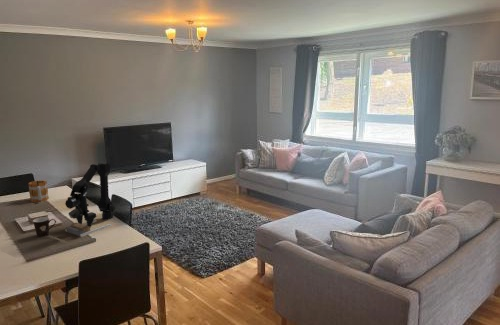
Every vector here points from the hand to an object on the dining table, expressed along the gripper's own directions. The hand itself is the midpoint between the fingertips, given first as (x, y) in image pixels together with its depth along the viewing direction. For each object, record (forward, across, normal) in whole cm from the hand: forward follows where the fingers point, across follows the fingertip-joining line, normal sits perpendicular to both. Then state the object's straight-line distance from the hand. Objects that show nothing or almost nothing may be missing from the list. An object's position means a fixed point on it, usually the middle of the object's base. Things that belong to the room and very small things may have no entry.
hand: (85, 226), depth 234 cm
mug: (+4, -96, +22) cm, 99 cm away
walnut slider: (+2, 0, -3) cm, 4 cm away
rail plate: (+3, 0, +2) cm, 4 cm away
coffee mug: (+3, -17, -16) cm, 24 cm away
